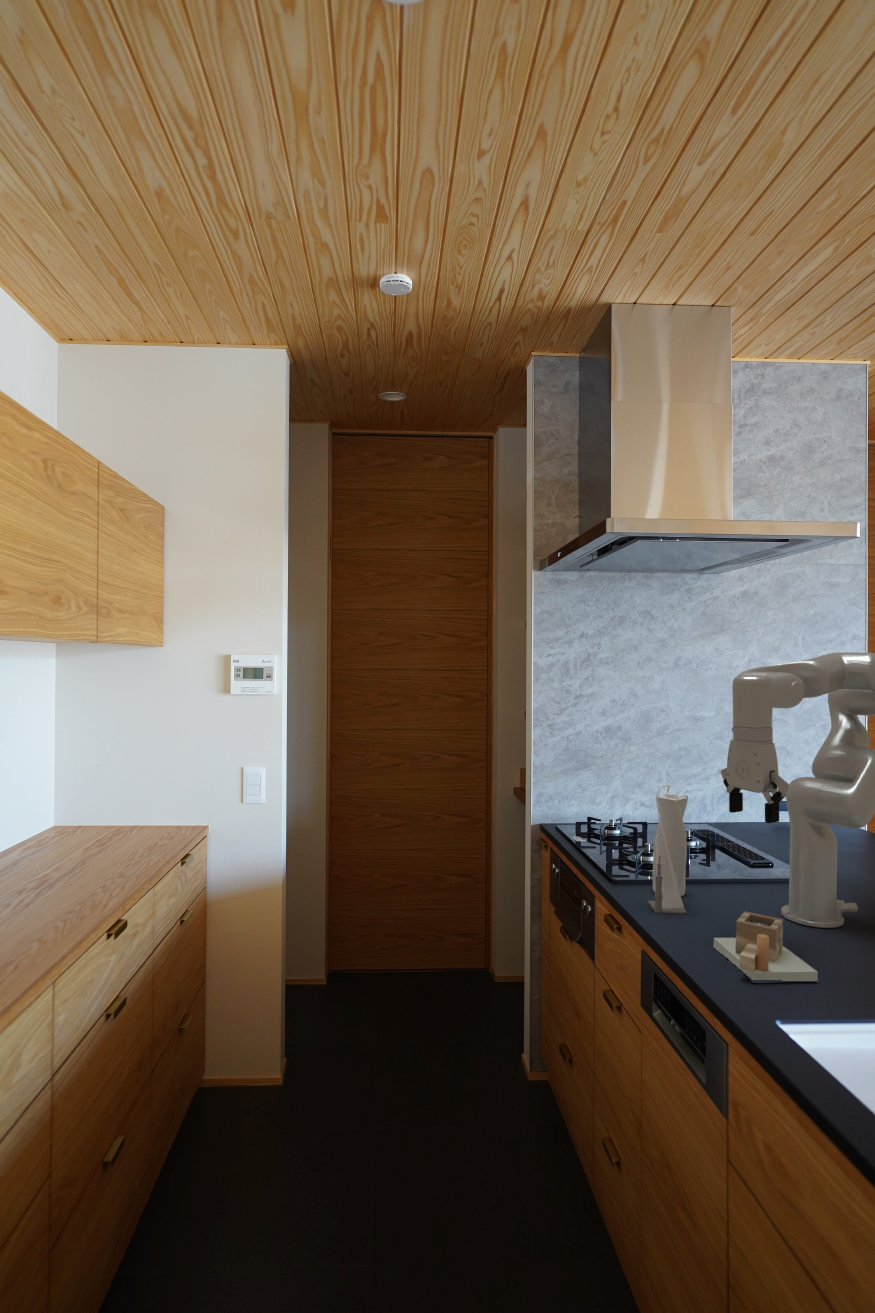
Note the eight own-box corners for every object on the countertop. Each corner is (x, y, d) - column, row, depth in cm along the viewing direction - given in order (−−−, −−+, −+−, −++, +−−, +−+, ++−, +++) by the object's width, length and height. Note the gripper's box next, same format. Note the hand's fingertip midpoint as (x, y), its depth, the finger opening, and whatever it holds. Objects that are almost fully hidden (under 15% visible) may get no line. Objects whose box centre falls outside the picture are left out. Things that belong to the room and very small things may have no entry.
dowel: (764, 966, 134) (765, 934, 134) (770, 971, 132) (771, 938, 132) (754, 967, 134) (754, 934, 134) (759, 971, 132) (760, 938, 132)
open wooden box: (744, 941, 146) (744, 911, 146) (782, 950, 142) (783, 919, 142) (726, 965, 134) (726, 932, 134) (767, 975, 130) (768, 941, 130)
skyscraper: (646, 900, 176) (648, 783, 176) (680, 901, 175) (682, 784, 175) (655, 912, 167) (657, 789, 167) (691, 913, 167) (693, 790, 167)
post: (764, 948, 143) (764, 920, 142) (772, 955, 139) (773, 926, 139) (748, 948, 142) (748, 920, 142) (756, 955, 139) (756, 926, 139)
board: (771, 947, 148) (771, 937, 148) (817, 983, 132) (817, 972, 132) (713, 948, 147) (713, 938, 147) (752, 983, 131) (753, 972, 131)
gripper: (708, 731, 158) (709, 810, 159) (771, 741, 142) (772, 829, 143) (735, 728, 161) (736, 806, 162) (800, 738, 145) (801, 824, 146)
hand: (753, 817), depth 152 cm, fingers open, 9 cm apart
